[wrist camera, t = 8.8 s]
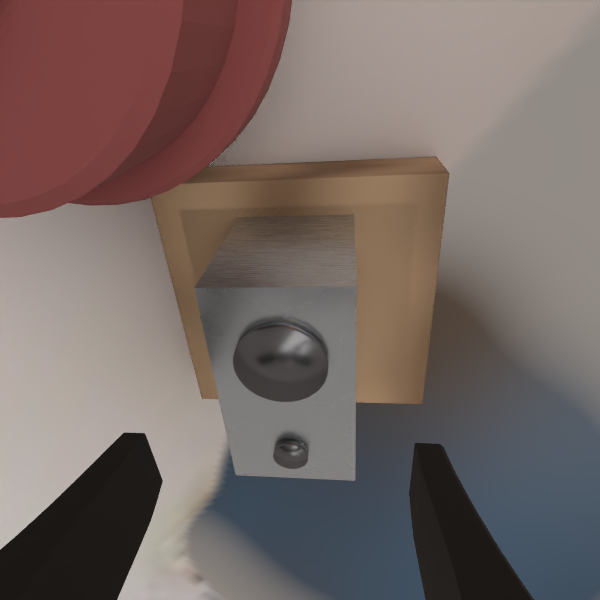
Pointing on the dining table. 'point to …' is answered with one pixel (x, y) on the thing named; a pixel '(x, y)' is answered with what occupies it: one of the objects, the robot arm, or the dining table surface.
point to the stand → (368, 247)
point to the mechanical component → (126, 94)
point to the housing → (285, 344)
